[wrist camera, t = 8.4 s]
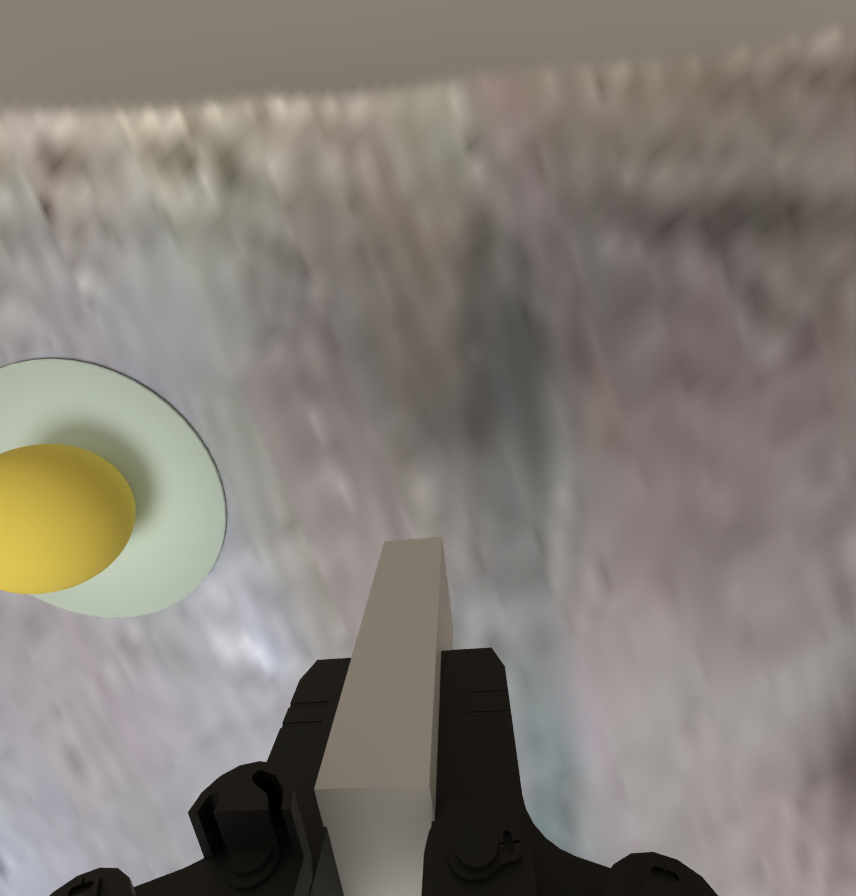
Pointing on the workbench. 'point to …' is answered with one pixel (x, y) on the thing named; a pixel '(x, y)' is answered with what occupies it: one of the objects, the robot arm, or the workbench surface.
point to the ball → (60, 517)
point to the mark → (143, 466)
